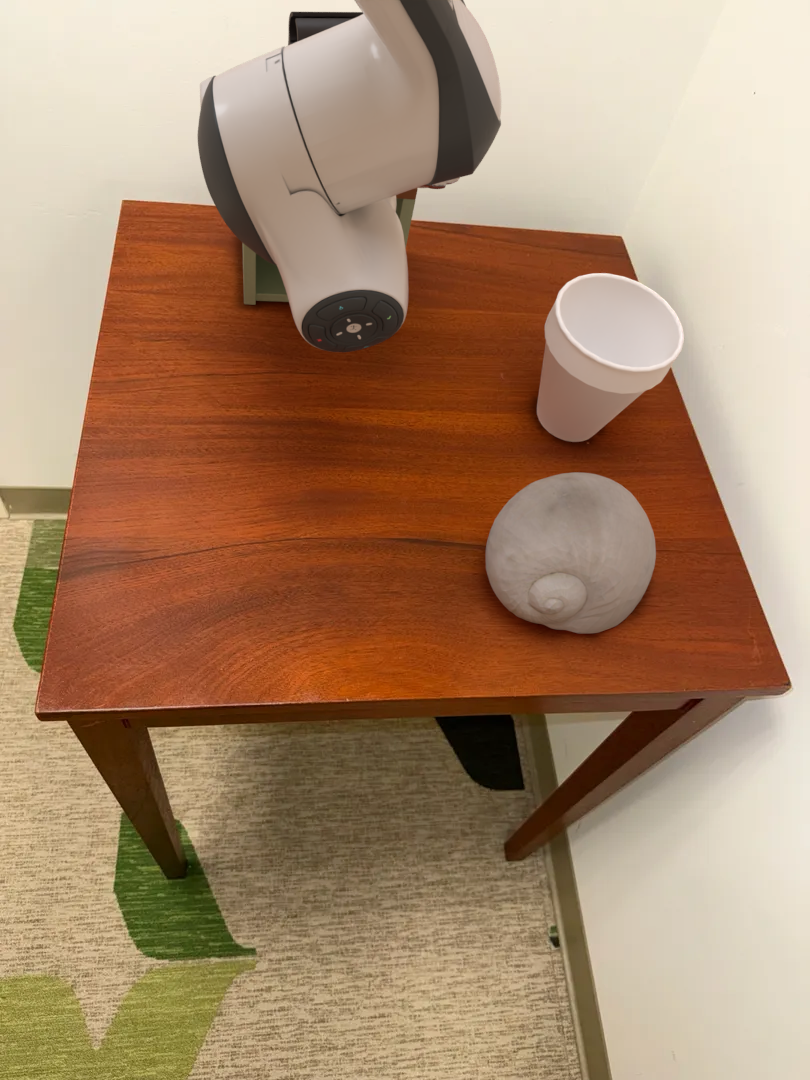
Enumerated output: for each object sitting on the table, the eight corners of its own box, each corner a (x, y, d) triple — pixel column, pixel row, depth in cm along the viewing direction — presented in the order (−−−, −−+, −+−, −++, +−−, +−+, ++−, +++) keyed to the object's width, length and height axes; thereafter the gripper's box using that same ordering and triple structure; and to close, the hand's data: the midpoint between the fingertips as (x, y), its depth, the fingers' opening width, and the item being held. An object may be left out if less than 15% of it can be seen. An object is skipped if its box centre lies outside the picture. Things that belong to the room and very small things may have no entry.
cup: (620, 476, 77) (685, 386, 66) (504, 445, 77) (548, 348, 65) (626, 389, 84) (685, 292, 72) (518, 359, 83) (561, 257, 72)
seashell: (466, 581, 76) (462, 601, 61) (520, 450, 75) (529, 438, 60) (609, 641, 75) (640, 675, 60) (667, 509, 74) (713, 511, 59)
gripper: (474, 151, 58) (446, 50, 65) (197, 126, 54) (198, 21, 61) (455, 221, 64) (432, 122, 70) (202, 204, 59) (202, 100, 66)
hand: (321, 75), depth 66 cm, fingers open, 8 cm apart
